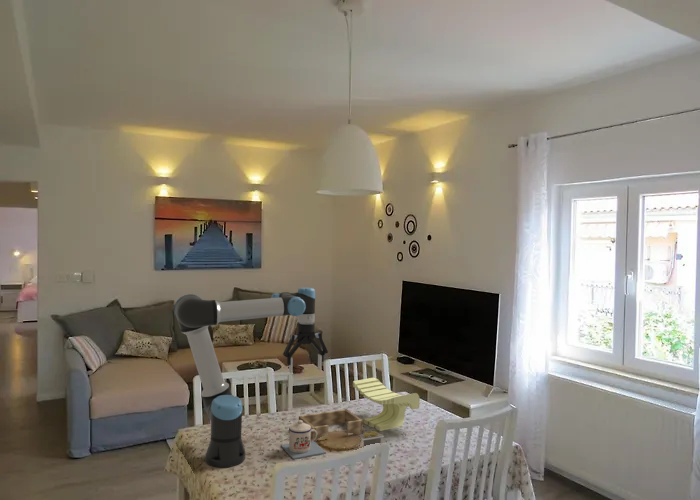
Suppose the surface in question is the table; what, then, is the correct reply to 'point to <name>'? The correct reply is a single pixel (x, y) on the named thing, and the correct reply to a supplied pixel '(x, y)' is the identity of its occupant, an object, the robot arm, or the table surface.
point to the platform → (371, 438)
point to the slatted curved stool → (386, 403)
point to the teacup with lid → (300, 437)
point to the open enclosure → (332, 422)
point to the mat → (313, 451)
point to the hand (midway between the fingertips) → (305, 370)
